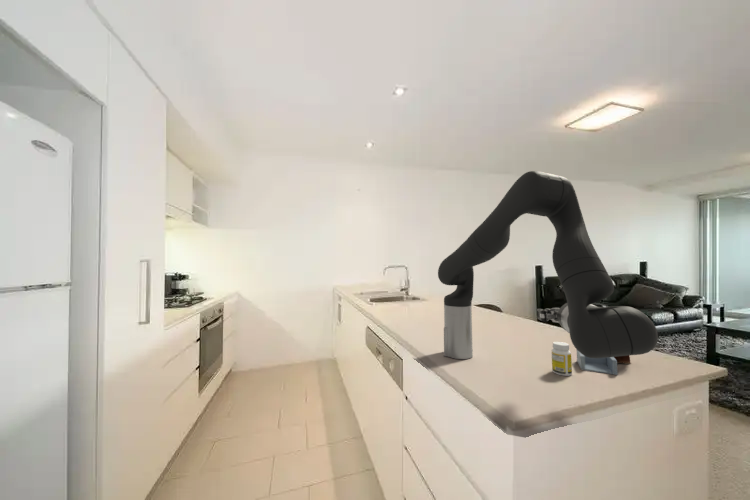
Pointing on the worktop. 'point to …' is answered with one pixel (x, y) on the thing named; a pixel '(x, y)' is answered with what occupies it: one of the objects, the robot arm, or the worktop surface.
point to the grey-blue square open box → (597, 364)
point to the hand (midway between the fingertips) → (566, 313)
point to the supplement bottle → (561, 359)
